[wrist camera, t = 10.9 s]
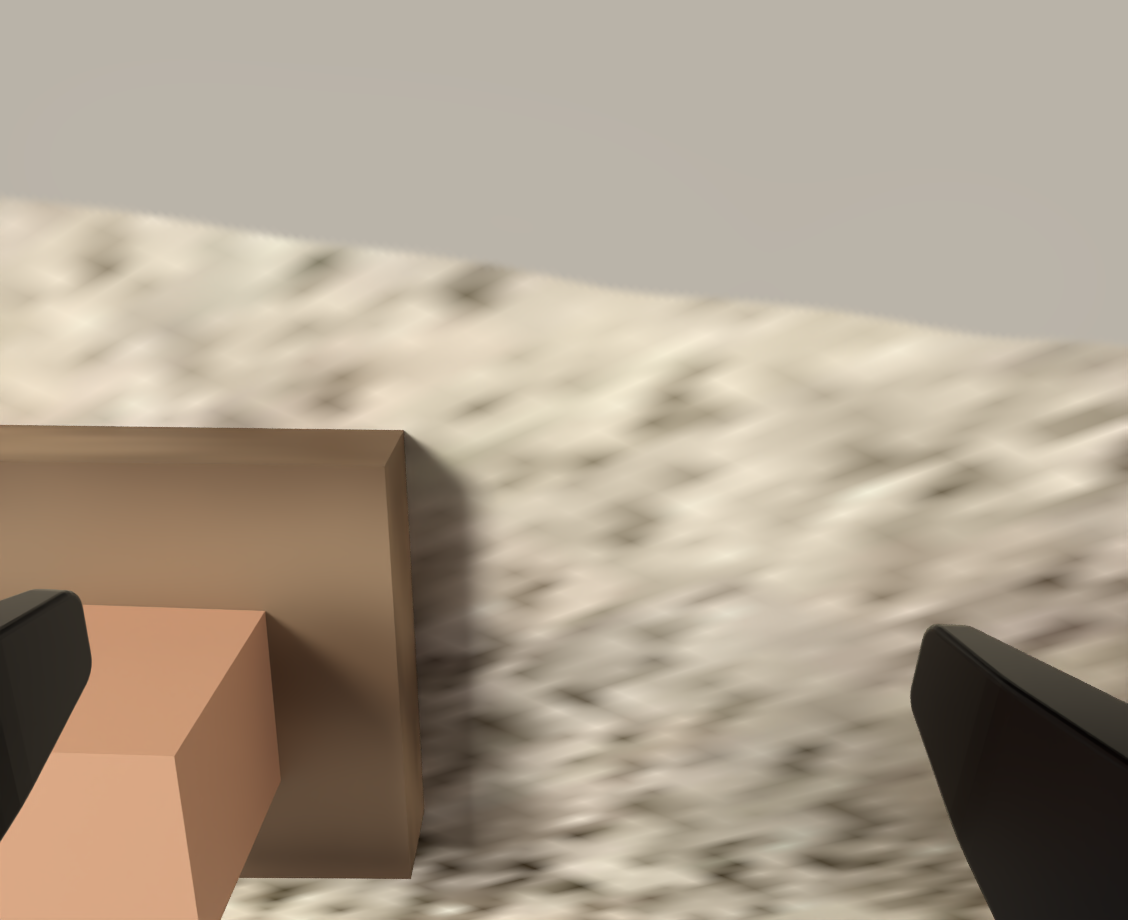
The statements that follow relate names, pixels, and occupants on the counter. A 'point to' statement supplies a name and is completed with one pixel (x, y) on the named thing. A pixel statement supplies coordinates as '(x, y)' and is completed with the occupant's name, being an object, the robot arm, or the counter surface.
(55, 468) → the base slab
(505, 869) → the counter surface
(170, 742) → the cube
